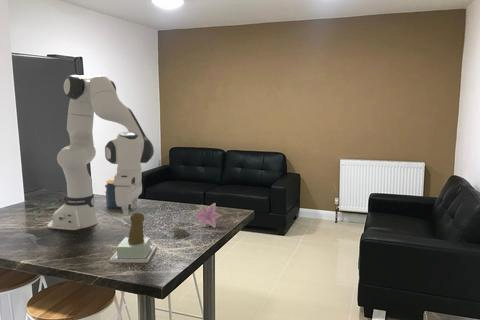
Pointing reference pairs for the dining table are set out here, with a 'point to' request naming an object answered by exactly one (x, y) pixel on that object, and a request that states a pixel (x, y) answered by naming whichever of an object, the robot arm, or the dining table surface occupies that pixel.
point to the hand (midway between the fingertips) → (130, 211)
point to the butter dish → (134, 252)
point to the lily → (207, 215)
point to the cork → (136, 229)
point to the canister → (111, 194)
